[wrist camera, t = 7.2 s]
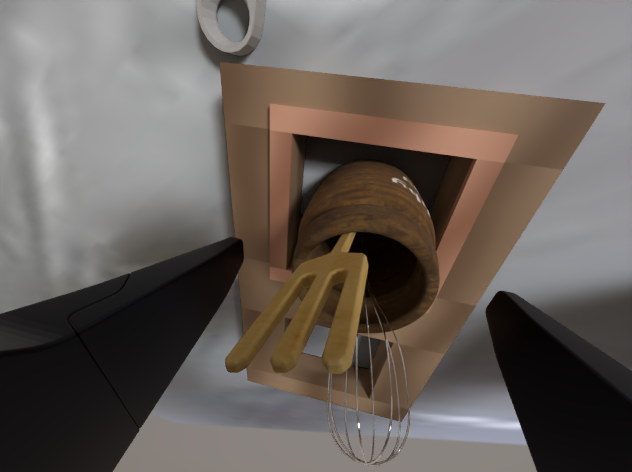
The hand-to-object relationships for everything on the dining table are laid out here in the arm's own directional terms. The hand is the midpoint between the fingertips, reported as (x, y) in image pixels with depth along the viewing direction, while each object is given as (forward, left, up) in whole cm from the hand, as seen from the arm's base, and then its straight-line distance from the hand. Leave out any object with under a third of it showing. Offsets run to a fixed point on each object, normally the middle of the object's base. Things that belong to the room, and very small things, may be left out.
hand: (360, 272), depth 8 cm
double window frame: (0, +6, -6) cm, 9 cm away
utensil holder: (0, 0, -7) cm, 7 cm away
